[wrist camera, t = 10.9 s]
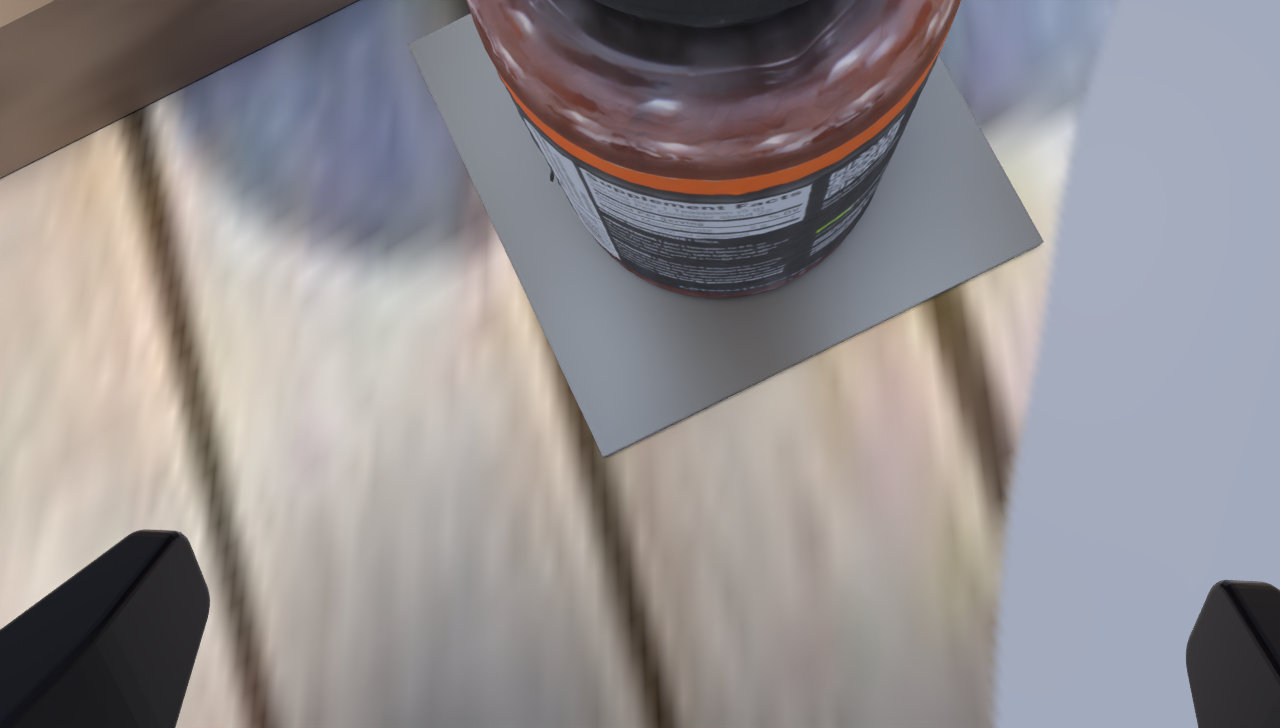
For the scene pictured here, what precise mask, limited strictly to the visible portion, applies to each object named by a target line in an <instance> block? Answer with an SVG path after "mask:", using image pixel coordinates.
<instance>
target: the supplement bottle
mask: <svg viewBox="0 0 1280 728" xmlns="http://www.w3.org/2000/svg"><path fill="white" fill-rule="evenodd" d="M960 1H961V0H466V2H467V5H468V7H469V10H470V12H471V15H472V18H473V21H474V24H475V26H476V29H477V31H478V34H479V36H480V38H481V41H482V43H483V45H484V48H485V50H486V52H487V54H488V55H489V57H490V59H491V61H492V62H493V64H494V66H495V68H496V70H497V73H498V75H499V77H500V79H501V81H502V82H503V83H504V85H505V87H506V89H507V91H508V92H509V94H510V96H511V98H512V100H513V102H514V104H515V106H516V108H517V110H518V113H519V115H520V117H521V118H522V120H523V121H524V123H525V125H526V127H527V128H528V130H529V132H530V134H531V137H532V138H533V140H534V142H535V143H536V145H537V147H538V148H539V150H540V151H541V152H542V154H543V155H544V157H545V159H546V161H547V163H548V165H549V167H550V170H551V172H550V181H552V182H553V180H554V174H555V176H556V178H557V180H558V184H559V185H560V186H561V187H562V188H563V190H564V192H565V194H566V196H567V198H568V200H569V202H570V204H571V206H572V207H573V209H574V210H575V212H576V213H577V215H578V216H579V218H580V219H581V221H582V222H583V224H584V225H585V226H586V228H587V229H588V230H589V231H590V232H591V234H592V235H593V237H594V238H595V240H596V241H597V242H598V244H599V245H600V246H601V247H602V248H604V249H605V250H606V251H607V252H608V253H609V255H610V256H611V257H612V258H614V259H615V260H616V261H618V262H619V263H620V264H621V265H622V266H623V267H625V268H626V269H627V270H628V271H630V272H632V273H634V274H635V275H636V276H638V277H640V278H642V279H644V280H645V281H647V282H649V283H651V284H653V285H656V286H658V287H661V288H663V289H666V290H670V291H674V292H677V293H681V294H684V295H690V296H697V297H705V298H728V297H741V296H746V295H753V294H757V293H761V292H764V291H768V290H772V289H776V288H778V287H780V286H782V285H784V284H786V283H788V282H790V281H792V280H794V279H796V278H798V277H800V276H802V275H804V274H805V273H807V272H808V271H809V270H811V269H812V268H814V267H815V266H817V265H819V264H820V263H821V262H822V261H823V260H824V259H825V258H826V257H827V256H829V255H830V254H832V252H833V251H834V250H835V249H836V248H837V247H838V246H839V245H840V244H841V243H842V242H843V241H844V239H845V238H846V237H847V235H848V234H849V233H850V232H851V231H852V229H853V228H854V227H855V225H856V224H857V222H858V221H859V220H860V218H861V217H862V215H863V214H864V212H865V210H866V209H867V207H868V206H869V204H870V202H871V200H872V198H873V196H874V194H875V191H876V189H877V187H878V184H879V182H880V181H881V179H882V176H883V174H884V172H885V169H886V167H887V165H888V163H889V161H890V159H891V157H892V156H893V154H894V151H895V149H896V147H897V145H898V142H899V140H900V138H901V136H902V134H903V132H904V130H905V128H906V125H907V123H908V121H909V119H910V117H911V114H912V112H913V110H914V108H915V107H916V104H917V102H918V99H919V96H920V94H921V92H922V90H923V88H924V86H925V85H926V83H927V80H928V77H929V75H930V73H931V71H932V69H933V67H934V65H935V63H936V61H937V58H938V55H939V53H940V50H941V48H942V46H943V44H944V41H945V39H946V37H947V34H948V32H949V30H950V27H951V25H952V22H953V20H954V17H955V15H956V12H957V10H958V7H959V4H960Z"/></svg>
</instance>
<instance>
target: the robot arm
mask: <svg viewBox="0 0 1280 728" xmlns="http://www.w3.org/2000/svg"><path fill="white" fill-rule="evenodd" d="M209 607H210V597H209V591H208V587H207V585H206V582H205V580H204V577H203V575H202V572H201V570H200V567H199V565H198V562H197V560H196V557H195V555H194V552H193V550H192V547H191V545H190V542H189V540H188V539H187V537H186V536H184V535H183V534H182V533H181V532H178V531H167V530H139V531H136V532H133V533H131V534H130V535H128V536H127V537H125V538H124V539H123V540H121V541H120V542H119V543H117V544H116V545H114V546H113V547H112V548H110V549H109V550H108V551H106V552H105V553H104V554H102V555H101V556H100V557H98V558H97V559H95V560H94V561H93V562H91V563H90V564H89V565H87V566H86V567H85V568H83V569H82V570H81V571H79V572H78V573H77V574H75V575H74V576H72V577H71V578H70V579H68V580H67V581H66V582H64V583H63V584H62V585H60V586H59V587H58V588H56V589H55V590H54V591H52V592H51V593H49V594H48V595H47V596H45V597H44V598H43V599H41V600H40V601H39V602H37V603H36V604H35V605H33V606H32V607H30V608H29V609H28V610H26V611H25V612H24V613H22V614H21V615H20V616H18V617H17V618H16V619H14V620H13V621H12V622H10V623H9V624H7V625H6V626H5V627H3V628H2V629H1V630H0V728H175V727H176V724H177V720H178V717H179V714H180V710H181V707H182V703H183V700H184V697H185V693H186V690H187V686H188V683H189V680H190V676H191V673H192V669H193V666H194V663H195V659H196V656H197V652H198V649H199V646H200V642H201V639H202V635H203V632H204V629H205V625H206V622H207V618H208V614H209ZM1186 665H1187V672H1188V677H1189V682H1190V688H1191V692H1192V697H1193V702H1194V708H1195V713H1196V718H1197V722H1198V728H1280V590H1279V589H1277V588H1276V587H1274V586H1272V585H1271V584H1268V583H1264V582H1256V581H1235V580H1234V581H1233V580H1223V581H1219V582H1218V583H1216V584H1215V585H1214V586H1213V587H1212V588H1211V590H1210V592H1209V594H1208V596H1207V599H1206V601H1205V603H1204V605H1203V608H1202V610H1201V612H1200V614H1199V617H1198V619H1197V621H1196V624H1195V626H1194V628H1193V630H1192V632H1191V635H1190V637H1189V640H1188V643H1187V649H1186Z"/></svg>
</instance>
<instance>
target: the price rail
mask: <svg viewBox="0 0 1280 728" xmlns="http://www.w3.org/2000/svg"><path fill="white" fill-rule="evenodd" d="M355 1H357V0H0V178H1V177H3V176H5V175H7V174H9V173H11V172H13V171H15V170H17V169H19V168H21V167H23V166H25V165H27V164H29V163H31V162H33V161H35V160H37V159H39V158H42V157H44V156H46V155H48V154H50V153H52V152H54V151H56V150H58V149H60V148H62V147H64V146H66V145H68V144H70V143H72V142H74V141H76V140H78V139H80V138H82V137H84V136H86V135H88V134H90V133H92V132H94V131H96V130H98V129H100V128H102V127H104V126H106V125H108V124H110V123H112V122H114V121H116V120H118V119H120V118H122V117H124V116H126V115H128V114H130V113H132V112H134V111H136V110H138V109H140V108H142V107H144V106H146V105H148V104H150V103H152V102H154V101H156V100H158V99H160V98H162V97H164V96H166V95H168V94H170V93H172V92H174V91H176V90H178V89H180V88H182V87H184V86H186V85H188V84H190V83H192V82H194V81H196V80H198V79H200V78H202V77H204V76H206V75H208V74H210V73H212V72H214V71H216V70H218V69H220V68H222V67H224V66H226V65H228V64H230V63H233V62H235V61H237V60H239V59H241V58H243V57H245V56H247V55H249V54H251V53H253V52H255V51H257V50H259V49H261V48H263V47H265V46H267V45H269V44H271V43H273V42H275V41H277V40H279V39H281V38H283V37H285V36H287V35H289V34H291V33H293V32H295V31H297V30H299V29H301V28H303V27H305V26H307V25H309V24H311V23H313V22H315V21H317V20H319V19H321V18H323V17H325V16H327V15H329V14H331V13H333V12H335V11H337V10H339V9H341V8H343V7H345V6H347V5H349V4H351V3H353V2H355ZM408 46H409V48H410V50H411V52H412V55H413V57H414V59H415V61H416V63H417V65H418V67H419V69H420V71H421V74H422V76H423V78H424V80H425V82H426V84H427V86H428V88H429V90H430V93H431V95H432V97H433V99H434V101H435V103H436V105H437V107H438V109H439V112H440V114H441V116H442V118H443V120H444V122H445V124H446V126H447V128H448V131H449V133H450V135H451V137H452V139H453V141H454V143H455V145H456V147H457V150H458V152H459V154H460V156H461V158H462V160H463V162H464V164H465V166H466V169H467V171H468V173H469V175H470V177H471V179H472V181H473V183H474V185H475V188H476V190H477V192H478V194H479V196H480V198H481V200H482V202H483V204H484V206H485V209H486V211H487V213H488V215H489V217H490V219H491V221H492V223H493V225H494V228H495V230H496V232H497V234H498V236H499V238H500V240H501V242H502V244H503V247H504V249H505V251H506V253H507V255H508V257H509V259H510V261H511V263H512V266H513V268H514V270H515V272H516V274H517V276H518V278H519V280H520V282H521V285H522V287H523V289H524V291H525V293H526V295H527V297H528V299H529V301H530V304H531V306H532V308H533V310H534V312H535V314H536V316H537V318H538V320H539V323H540V325H541V327H542V329H543V331H544V333H545V335H546V337H547V339H548V342H549V344H550V346H551V348H552V350H553V352H554V354H555V356H556V358H557V361H558V363H559V365H560V367H561V369H562V371H563V373H564V375H565V377H566V380H567V382H568V384H569V386H570V388H571V390H572V392H573V394H574V396H575V399H576V401H577V403H578V405H579V407H580V409H581V411H582V413H583V415H584V418H585V420H586V422H587V424H588V426H589V428H590V430H591V432H592V434H593V437H594V439H595V441H596V443H597V445H598V447H599V449H600V451H601V453H602V456H603V457H607V456H609V455H611V454H613V453H615V452H617V451H619V450H621V449H623V448H625V447H627V446H629V445H631V444H634V443H636V442H638V441H640V440H642V439H644V438H646V437H648V436H650V435H652V434H654V433H656V432H658V431H660V430H662V429H664V428H666V427H668V426H670V425H672V424H675V423H677V422H679V421H681V420H683V419H685V418H687V417H689V416H691V415H693V414H695V413H697V412H699V411H701V410H703V409H705V408H707V407H709V406H711V405H713V404H715V403H718V402H720V401H722V400H724V399H726V398H728V397H730V396H732V395H734V394H736V393H738V392H740V391H742V390H744V389H746V388H748V387H750V386H752V385H754V384H756V383H759V382H761V381H763V380H765V379H767V378H769V377H771V376H773V375H775V374H777V373H779V372H781V371H783V370H785V369H787V368H789V367H791V366H793V365H795V364H797V363H800V362H802V361H804V360H806V359H808V358H810V357H812V356H814V355H816V354H818V353H820V352H822V351H824V350H826V349H828V348H830V347H832V346H834V345H836V344H838V343H840V342H843V341H845V340H847V339H849V338H851V337H853V336H855V335H857V334H859V333H861V332H863V331H865V330H867V329H869V328H871V327H873V326H875V325H877V324H879V323H881V322H884V321H886V320H888V319H890V318H892V317H894V316H896V315H898V314H900V313H902V312H904V311H906V310H908V309H910V308H912V307H914V306H916V305H918V304H920V303H922V302H925V301H927V300H929V299H931V298H933V297H935V296H937V295H939V294H941V293H943V292H945V291H947V290H949V289H951V288H953V287H955V286H957V285H959V284H961V283H963V282H965V281H968V280H970V279H972V278H974V277H976V276H978V275H980V274H982V273H984V272H986V271H988V270H990V269H992V268H994V267H996V266H998V265H1000V264H1002V263H1004V262H1006V261H1009V260H1011V259H1013V258H1015V257H1017V256H1019V255H1021V254H1023V253H1025V252H1027V251H1029V250H1031V249H1033V248H1035V247H1037V246H1039V245H1040V244H1042V243H1043V242H1044V241H1043V240H1042V238H1041V236H1040V234H1039V233H1038V231H1037V229H1036V227H1035V225H1034V224H1033V222H1032V220H1031V218H1030V216H1029V215H1028V213H1027V211H1026V209H1025V207H1024V206H1023V204H1022V202H1021V200H1020V199H1019V197H1018V195H1017V193H1016V191H1015V190H1014V188H1013V186H1012V184H1011V182H1010V181H1009V179H1008V177H1007V175H1006V173H1005V172H1004V170H1003V168H1002V166H1001V165H1000V163H999V161H998V159H997V157H996V156H995V154H994V152H993V150H992V148H991V147H990V145H989V143H988V141H987V139H986V138H985V136H984V134H983V132H982V131H981V129H980V127H979V125H978V123H977V122H976V120H975V118H974V116H973V114H972V113H971V111H970V109H969V107H968V105H967V104H966V102H965V100H964V98H963V97H962V95H961V93H960V91H959V89H958V88H957V86H956V84H955V82H954V80H953V79H952V77H951V75H950V73H949V71H948V70H947V68H946V66H945V64H944V63H943V61H942V59H941V57H940V55H938V58H937V61H936V63H935V65H934V67H933V69H932V71H931V73H930V75H929V77H928V80H927V83H926V85H925V86H924V88H923V90H922V92H921V94H920V96H919V99H918V102H917V104H916V107H915V108H914V110H913V112H912V114H911V117H910V119H909V121H908V123H907V125H906V128H905V130H904V132H903V134H902V136H901V138H900V140H899V142H898V145H897V147H896V149H895V151H894V154H893V156H892V157H891V159H890V161H889V163H888V165H887V167H886V169H885V172H884V174H883V176H882V179H881V181H880V182H879V184H878V187H877V189H876V191H875V194H874V196H873V198H872V200H871V202H870V204H869V206H868V207H867V209H866V210H865V212H864V214H863V215H862V217H861V218H860V220H859V221H858V222H857V224H856V225H855V227H854V228H853V229H852V231H851V232H850V233H849V234H848V235H847V237H846V238H845V239H844V241H843V242H842V243H841V244H840V245H839V246H838V247H837V248H836V249H835V250H834V251H833V252H832V254H830V255H829V256H827V257H826V258H825V259H824V260H823V261H822V262H821V263H820V264H819V265H817V266H815V267H814V268H812V269H811V270H809V271H808V272H807V273H805V274H804V275H802V276H800V277H798V278H796V279H794V280H792V281H790V282H788V283H786V284H784V285H782V286H780V287H778V288H776V289H772V290H768V291H764V292H761V293H757V294H753V295H746V296H741V297H728V298H705V297H697V296H690V295H684V294H681V293H677V292H674V291H670V290H666V289H663V288H661V287H658V286H656V285H653V284H651V283H649V282H647V281H645V280H644V279H642V278H640V277H638V276H636V275H635V274H634V273H632V272H630V271H628V270H627V269H626V268H625V267H623V266H622V265H621V264H620V263H619V262H618V261H616V260H615V259H614V258H612V257H611V256H610V255H609V253H608V252H607V251H606V250H605V249H604V248H602V247H601V246H600V245H599V244H598V242H597V241H596V240H595V238H594V237H593V235H592V234H591V232H590V231H589V230H588V229H587V228H586V226H585V225H584V224H583V222H582V221H581V219H580V218H579V216H578V215H577V213H576V212H575V210H574V209H573V207H572V206H571V204H570V202H569V200H568V198H567V196H566V194H565V192H564V190H563V188H562V187H561V186H560V185H559V184H558V180H557V178H556V176H555V174H554V180H553V182H552V181H550V172H551V170H550V167H549V165H548V163H547V161H546V159H545V157H544V155H543V154H542V152H541V151H540V150H539V148H538V147H537V145H536V143H535V142H534V140H533V138H532V137H531V134H530V132H529V130H528V128H527V127H526V125H525V123H524V121H523V120H522V118H521V117H520V115H519V113H518V110H517V108H516V106H515V104H514V102H513V100H512V98H511V96H510V94H509V92H508V91H507V89H506V87H505V85H504V83H503V82H502V81H501V79H500V77H499V75H498V73H497V70H496V68H495V66H494V64H493V62H492V61H491V59H490V57H489V55H488V54H487V52H486V50H485V48H484V45H483V43H482V41H481V38H480V36H479V34H478V31H477V29H476V26H475V24H474V21H473V18H472V15H471V14H469V15H467V16H465V17H463V18H460V19H458V20H456V21H454V22H452V23H450V24H448V25H446V26H444V27H442V28H440V29H438V30H436V31H434V32H432V33H430V34H428V35H426V36H424V37H422V38H420V39H418V40H416V41H414V42H412V43H410V44H408Z"/></svg>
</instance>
